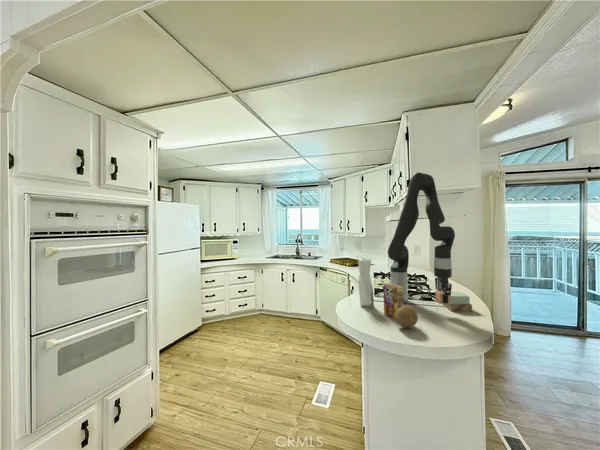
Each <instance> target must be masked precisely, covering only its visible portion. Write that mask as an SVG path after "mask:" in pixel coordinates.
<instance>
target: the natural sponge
mask: <svg viewBox="0 0 600 450" xmlns="http://www.w3.org/2000/svg"><path fill="white" fill-rule="evenodd" d="M418 316H419V315H418V313H417V311H416V309H415V308H413V307H412V306H411V305H408V304H406V305H404V304H403V306H401V307H400V308H399V309H398V311H397V313H396V315H395V318H394V320H395V322H396V323H397V324H398V325H400V326H401V327H402V328H404V329H407V330H409V329H411V328H412V327H413V326H415V325H416V324H417V323H418V321H419V320H418V319H419V317H418Z"/></svg>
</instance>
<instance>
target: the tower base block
mask: <svg viewBox="0 0 600 450" xmlns="http://www.w3.org/2000/svg"><path fill="white" fill-rule="evenodd" d="M442 306H443V307H445V308H446V309H447V310H449V311H450V312H458V313H459V312H464V313H465V312H466V313H467V312H468V313H469V312H473V305H472V303H470V304H442Z"/></svg>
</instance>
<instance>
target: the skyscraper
mask: <svg viewBox="0 0 600 450" xmlns="http://www.w3.org/2000/svg"><path fill="white" fill-rule="evenodd" d="M358 257H360V258H361V259H359V258H358ZM356 258H357V263H358V264H357V265H358V271H359V276H358V293H359V294H358V295H359V304H360V308H368V309H369V308H370V309H371V308H372V309H373V308H374V309H375V304H374V302H375V300H374V291H373V290H374V289H373V288H374V287H373V284H372V278H371V277H372V276H371V265H372V264H371V263H372V259H371V258H369V257H363V256H361V255H356Z"/></svg>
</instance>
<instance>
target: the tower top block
mask: <svg viewBox="0 0 600 450" xmlns="http://www.w3.org/2000/svg"><path fill="white" fill-rule="evenodd" d="M451 304H471V302H470V295H467V294H466V293H464V292H462V291H451Z"/></svg>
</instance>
